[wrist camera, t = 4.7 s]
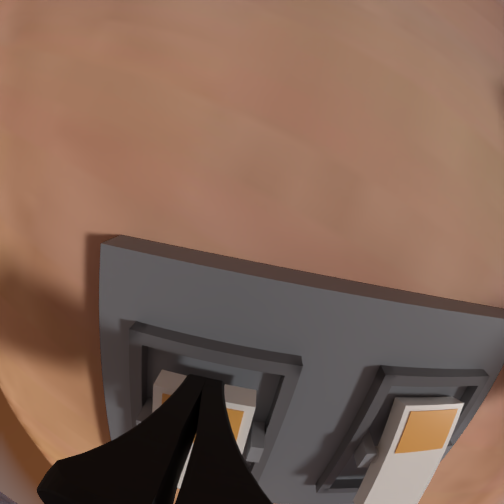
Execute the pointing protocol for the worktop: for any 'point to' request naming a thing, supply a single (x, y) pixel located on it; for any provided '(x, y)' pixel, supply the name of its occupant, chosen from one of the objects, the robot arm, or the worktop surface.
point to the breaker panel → (288, 356)
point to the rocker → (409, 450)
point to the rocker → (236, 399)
